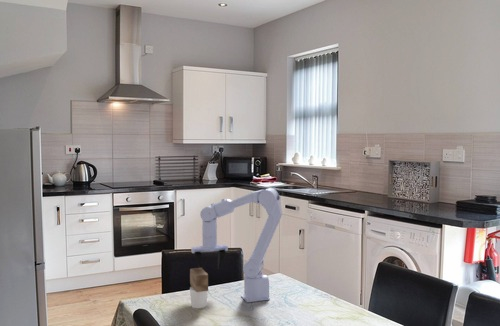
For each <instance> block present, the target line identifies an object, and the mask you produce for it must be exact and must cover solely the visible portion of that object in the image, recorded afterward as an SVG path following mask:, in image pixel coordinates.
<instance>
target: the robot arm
mask: <svg viewBox="0 0 500 326" xmlns="http://www.w3.org/2000/svg"><path fill="white" fill-rule="evenodd" d="M250 203H254V204H260V206H262V207H263V208H264V209H265V211H266V213H267V219H266V221H265V224H264V226H263V229H262V231H261V233H260V235H259V237H258V240H257V242H256V245H255V247H254V249H253V251H252V254H251V255H250V257H249V259H248V261H247V262H246V263H244V264H243V267H242V272H243V275H244V276H243V280H244V283H243V285H244V287H243V288H244V290H243V291H244V293H243V294H241V295H240V297H241V298H242V299H243V300H244V301H245V302H246V303H253V302H261V301H262V302H263V301H268V300H269V301H270V280H269V277H268V275H267V274H263V273H262V270H263V268H264V259H265V258H266V253H267V251H268V248H269V247H270V244H271V243H272V239H273V237H274V235H275V233H276V230H277V227H278V226H279V223H280V222H281V221H280V220H281V219H282V217H283V209H282V202H281V196H280V194H279V193H278V191H277V189H275V188H273V187H268V188H267V187H266V189H264V188H263V189H260V190H255V191H253V192H250V193H248V194H245V195H243V196H240V197H237V198H236V199H233V200H232V199H229V198H225V197H224V198H222V199H221V201H219V202H216V203H214V202H212V203H211V204H210V205H207V206H205V207H204V208H202V209H201V211H200V213H199V215H200V218H201V220H202V225H201V226H202V227H201V228H202V230H201V231H202V233H201V234H202V245H201V246H195V247H194V246H193V247H191V253H192V254H194V256H195V259H196V262H197V265H198V268H202V269H203V266H202V258H203V255H202V253H211V252H212V253H213V252H217V269H218V270H221V269H222V263H223V261H224V259H225V256H226V254H227V252H228V251H229V249H228V248H229V246H228V245H226V244H224V245H223V244H222V245H221V244H217V243H218V238H217V235H218V234H217V233H218V231H217V229H218V226H217V218H218V219H219V218H221V217H224V216H226V215H229V214H232V213H233V212H234V211H235V209H236V208H239V207H241V206H244V205H247V204H250Z"/></svg>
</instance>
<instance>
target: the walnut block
mask: <svg viewBox="0 0 500 326" xmlns="http://www.w3.org/2000/svg"><path fill="white" fill-rule="evenodd" d="M189 284H190V287H191V286H192V287H193V289H194V290H195V291H196V292H201V291H209V274H208V272H206V271H205V270H204V269H203V267H202V268H199V267H194V268H190V269H189Z"/></svg>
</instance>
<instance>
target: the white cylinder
mask: <svg viewBox="0 0 500 326" xmlns="http://www.w3.org/2000/svg"><path fill="white" fill-rule="evenodd" d="M208 291H209V290H208ZM208 291H201V292H196V291H195V290H194V289H193V287H192V286H191V285H190V287H189V293H190V304H191V307H192V308H193V309H203V308H206V307H207V303H208Z"/></svg>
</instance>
